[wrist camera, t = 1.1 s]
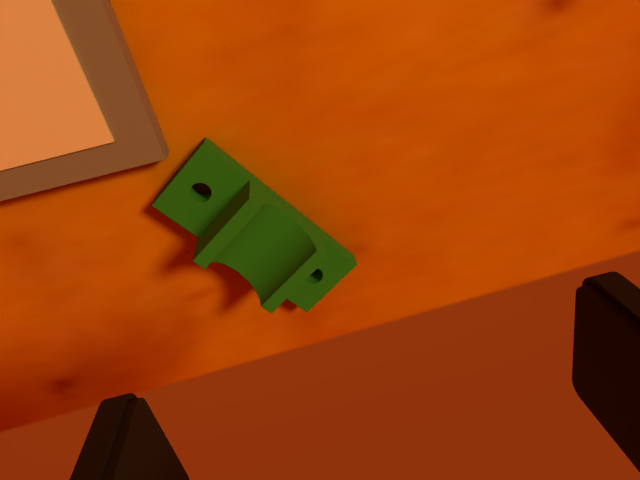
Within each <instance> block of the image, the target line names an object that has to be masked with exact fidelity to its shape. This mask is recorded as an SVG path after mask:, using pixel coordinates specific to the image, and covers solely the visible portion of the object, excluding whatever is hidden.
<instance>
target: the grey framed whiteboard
mask: <svg viewBox="0 0 640 480" xmlns="http://www.w3.org/2000/svg"><path fill="white" fill-rule="evenodd" d="M168 154H169V150H168V147H167V144H166V142H165V139H164V137H163V134H162V132H161V129H160V127H159V124H158V122H157V119H156V117H155V114H154V112H153V109H152V107H151V104H150V102H149V99H148V97H147V94H146V91H145V89H144V86H143V84H142V81H141V79H140V76H139V74H138V71H137V69H136V66H135V64H134V61H133V59H132V56H131V54H130V51H129V49H128V46H127V44H126V41H125V38H124V36H123V33H122V31H121V28H120V26H119V23H118V21H117V18H116V16H115V13H114V11H113V8H112V6H111V3H110V1H109V0H0V201H3V200H7V199H11V198H15V197H19V196H23V195H27V194H31V193H35V192H39V191H43V190H47V189H51V188H55V187H58V186H62V185H66V184H70V183H74V182H78V181H82V180H86V179H90V178H94V177H98V176H102V175H106V174H110V173H114V172H118V171H122V170H126V169H129V168H133V167H137V166H141V165H145V164H149V163H153V162H157V161H161V160H165V159H166V158H167V156H168Z"/></svg>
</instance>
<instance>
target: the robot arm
mask: <svg viewBox="0 0 640 480" xmlns="http://www.w3.org/2000/svg"><path fill="white" fill-rule="evenodd" d="M572 382H573V386H574V388H575V391H576V392H577V394H578V396H579V397H580V398H581V400H582V401H583V402H584V403H585V404H586V406H587V407H588V408H589V409H590V411H591V412H592V413H593V415H594V416H595V417H596V418H597V420H598V421H599V422H600V423H601V424H602V426H603V427H604V428H605V430H606V431H607V432H608V433H609V435H610V436H611V437H612V438H613V439H614V441H615V442H616V443H617V444H618V446H619V447H620V448H621V449H622V451H623V452H624V453H625V454H626V456H627V457H628V458H629V459H630V461H631V462H632V463H633V464H634V466H635V467H636V468H637V469H638V471H639V472H640V289H639V288H638V287H637V286H635V285H634V284H633V283H631V282H630V281H629V280H627V279H626V278H625V277H623V276H622V275H621V274H619V273H617V272H608V273H605V274H601V275H597V276H593V277H589V278H586V279H584V281H583V283H582V287H579V288H577V290H576V302H575V324H574V348H573V371H572ZM69 480H189V477H188V475H187V473H186V471H185V470H184V468H183V466H182V464H181V462H180V461H179V459H178V457H177V455H176V454H175V452H174V450H173V448H172V446H171V445H170V443H169V441H168V439H167V438H166V436H165V434H164V432H163V431H162V429H161V427H160V425H159V423H158V422H157V420H156V418H155V417H154V414H153V413H152V411H151V409H150V407H149V406H148V404H147V402H146V401H145V399H143V398H137V397H136V396H135V395H134V394H132V393H129V394H125V395H121V396H117V397H113V398H109V399H105V400H103V401H102V402H101V404H100V406H99V408H98V411H97V413H96V415H95V418H94V420H93V423H92V425H91V428H90V430H89V433H88V435H87V438H86V440H85V443H84V445H83V448H82V450H81V453H80V455H79V458H78V461H77V463H76V465H75V468H74V471H73V473H72V475H71V478H70V479H69Z"/></svg>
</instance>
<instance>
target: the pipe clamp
mask: <svg viewBox="0 0 640 480" xmlns="http://www.w3.org/2000/svg"><path fill="white" fill-rule="evenodd" d="M196 183H204V184H206V185H208V186H209V187H210V189H211V192H210V193H208V194H205V195H202V194H199V193H197V192H196V191H195V190H194V189H193V185H194V184H196ZM152 206H153V207H154V208H156V209H157V210H159V211H160V212H162V213H163V214H164V215H166V216H167V217H169V218H170V219H172V220H173V221H175V222H176V223H178V224H179V225H180V226H182V227H183V228H185V229H186V230H188V231H189V232H191V233H192V234H194V235H195V236H196V237H198V241H197V245H196V249H195V253H194V258H193V262H194V263H196V264H198V265H199V266H201V267H202V268H204V269H205V268H206V267H207V266H208V265H209V264H210V263H211V262H218V263H222V264H225V265H227V266H229V267H231V268H233V269H234V270H236V271H237V272H238V273H240V274H241V275H242V276H243V277H244V278H245V279H246V280H247V281H248V282H249V283H250V284H251V285H252V287H253V288H254V289H255V291H256V293H257V295H258V297H259V299H260V302H261V307H263V308H264V309H266V310H267V311H269V312H270V313H272V312H274V311H275V310H276V309H277V308H278V307H279V306H280V305H281V304H282V303H283V302H284V301H285V300H286V299H288V300H289V301H291V302H292V303H294V304H295V305H297V306H298V307H300V308H301V309H303V310H304V311H305V312H308V311H309V310H310V309H311V308H312V307H313V306H314V305H315V304H316V303H317V302H318V301H319V300H320V299H322V298H323V297H324V296H325V295H326V294H327V293H328V292H329V291H330V290H331V289H332V288H333V287H334V286H335V285H336V284H337V283H338V282H339V281H340V280H341V279H342V278H344V277H345V276H346V275H347V274H348V273H349V272H350V271H351V270H352V269H353V268H354V267H355V266H356V265H357V262H356V260H355V257H354V255H353V254H352V253H350V252H349V251H348V250H347V249H345V248H344V247H343V246H342V245H340V244H339V243H338V242H337V241H335V240H334V239H333V238H331V237H330V236H329V235H328V234H326V233H325V232H324V231H323V230H321V229H320V228H319V227H318V226H316V225H315V224H314V223H313V222H311V221H310V220H309V219H308V218H306V217H305V216H304V215H303V214H301V213H300V212H299V211H298V210H296V209H295V208H294V207H293V206H291V205H290V204H289V203H288V202H286V201H285V200H284V199H283V198H281V197H280V196H279V195H278V194H276V193H275V192H274V191H272V190H271V189H270V188H269V187H267V186H266V185H265V184H264V183H262V182H261V181H260V180H259V179H257V178H256V177H255V176H254V175H252V174H251V173H250V172H249V171H247V170H246V169H245V168H244V167H242V166H241V165H240V164H239V163H237V162H236V161H235V160H234V159H232V158H231V157H230V156H229V155H227V154H226V153H225V152H224V151H222V150H221V149H220V148H219V147H217V146H216V145H215V144H214V143H212V142H211V141H210V140H208V139H207V138H205V139H204V140H203V141H202V142H201V144H200V145H199V146H198V147H197V148H196V150H195V151H194V152H193V153H192V154H191V156H190V157H189V158H188V159H187V160H186V162H185V163H184V164H183V165H182V166H181V168H180V169H179V170H178V171H177V172H176V174H175V175H174V176H173V177H172V179H171V180H170V181H169V182H168V183H167V185H166V186H165V187H164V188H163V189H162V191H161V192H160V193H159V194H158V195H157V197H156V198H155V200H154V202H153V204H152ZM317 268H318V269H320V270H319V271H318V272H317V273H315V274H312V273H313V272H314V271H315V270H316V269H317Z"/></svg>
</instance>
